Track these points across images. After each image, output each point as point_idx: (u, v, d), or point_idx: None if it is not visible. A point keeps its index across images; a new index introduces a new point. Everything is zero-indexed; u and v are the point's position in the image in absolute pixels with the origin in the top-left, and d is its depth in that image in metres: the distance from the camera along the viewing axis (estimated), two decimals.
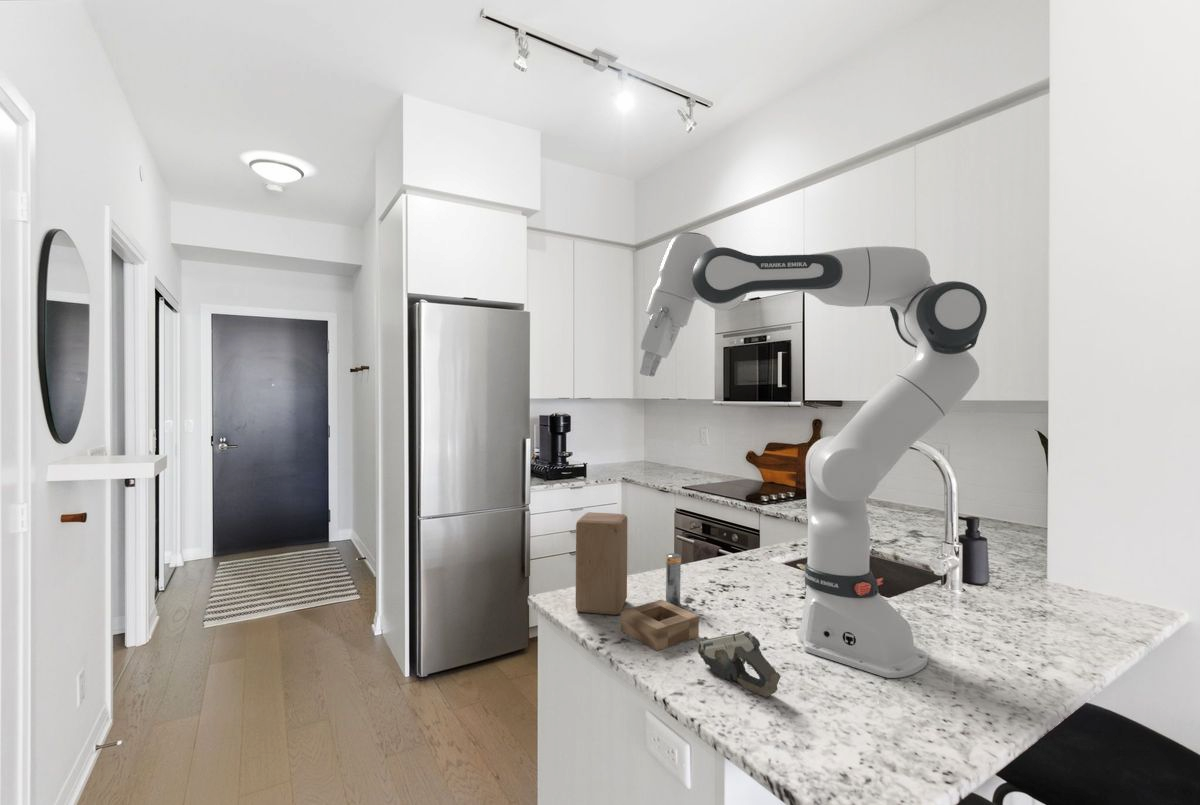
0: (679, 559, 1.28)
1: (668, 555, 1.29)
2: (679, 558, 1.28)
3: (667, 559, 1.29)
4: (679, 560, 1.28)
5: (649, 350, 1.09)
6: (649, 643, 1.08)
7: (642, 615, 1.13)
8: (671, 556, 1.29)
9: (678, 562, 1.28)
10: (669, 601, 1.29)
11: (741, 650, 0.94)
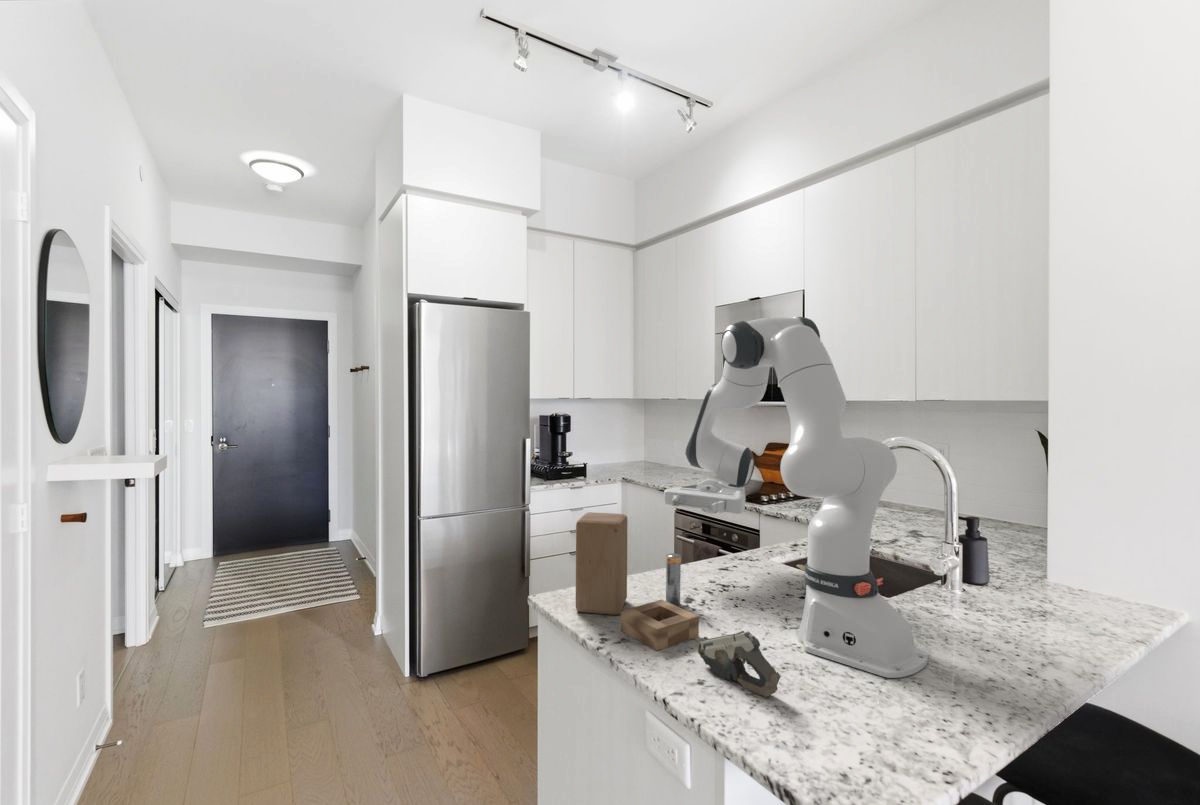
0: (679, 559, 1.28)
1: (668, 555, 1.29)
2: (679, 558, 1.28)
3: (667, 559, 1.29)
4: (679, 560, 1.28)
5: (664, 496, 1.48)
6: (649, 643, 1.08)
7: (642, 615, 1.13)
8: (671, 556, 1.29)
9: (678, 562, 1.28)
10: (669, 601, 1.29)
11: (741, 650, 0.94)
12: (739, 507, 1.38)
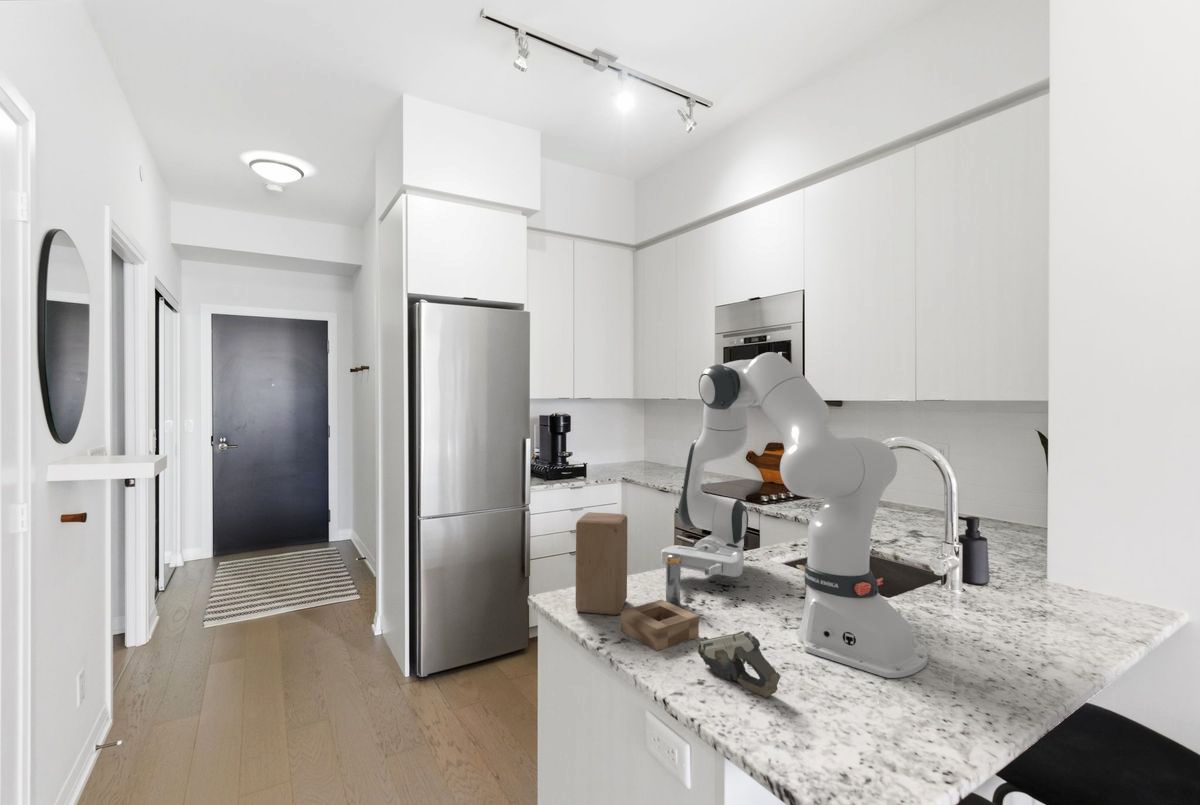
0: (679, 559, 1.28)
1: (668, 555, 1.29)
2: (679, 558, 1.28)
3: (667, 559, 1.29)
4: (679, 560, 1.28)
5: (661, 556, 1.46)
6: (649, 643, 1.08)
7: (642, 615, 1.13)
8: (671, 556, 1.29)
9: (678, 562, 1.28)
10: (669, 601, 1.29)
11: (741, 650, 0.94)
12: (736, 570, 1.36)
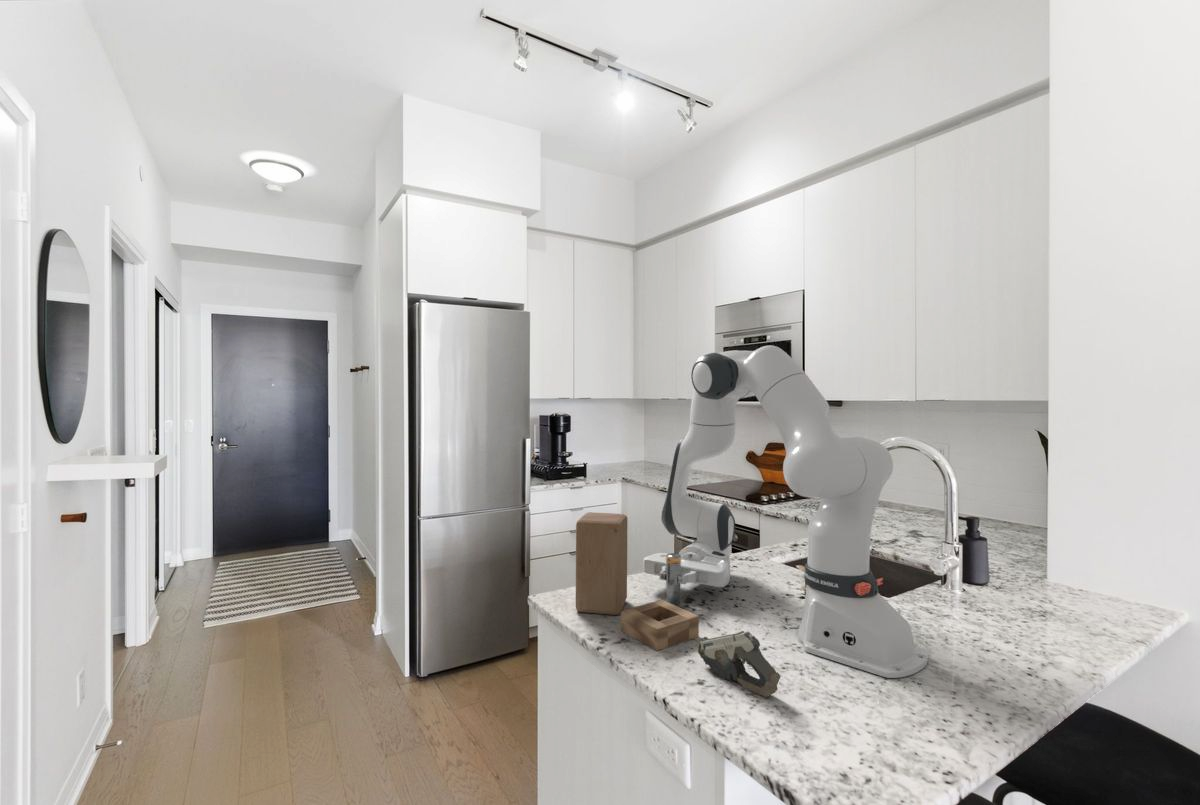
0: (679, 559, 1.28)
1: (668, 555, 1.29)
2: (679, 558, 1.28)
3: (667, 559, 1.29)
4: (679, 560, 1.28)
5: (643, 565, 1.38)
6: (649, 643, 1.08)
7: (642, 615, 1.13)
8: (671, 556, 1.29)
9: (678, 562, 1.28)
10: (668, 601, 1.29)
11: (741, 650, 0.94)
12: (722, 581, 1.28)
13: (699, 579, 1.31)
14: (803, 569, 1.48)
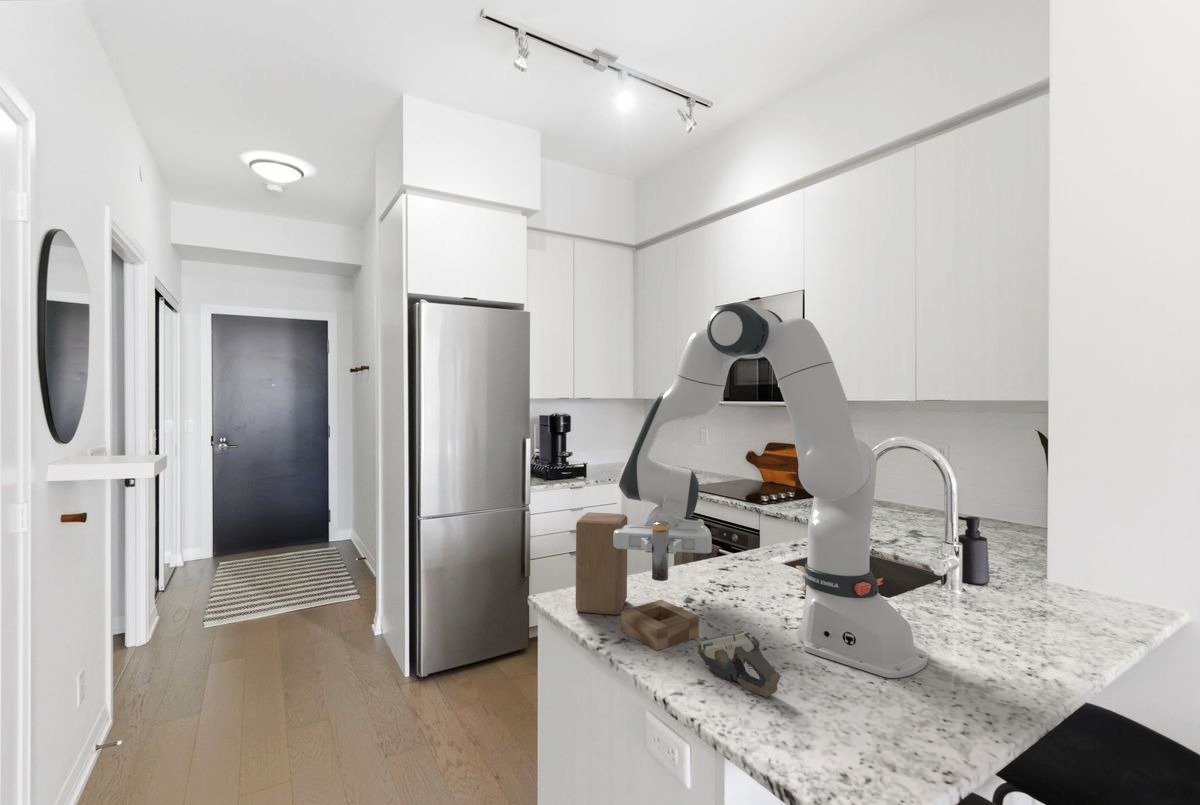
0: (668, 526, 1.13)
1: (655, 523, 1.13)
2: (668, 525, 1.13)
3: (656, 527, 1.12)
4: (668, 527, 1.13)
5: (614, 539, 1.19)
6: (649, 643, 1.08)
7: (642, 615, 1.13)
8: (660, 524, 1.13)
9: (668, 530, 1.13)
10: (658, 575, 1.12)
11: (741, 650, 0.94)
12: (710, 545, 1.16)
13: (683, 547, 1.18)
14: (803, 570, 1.48)
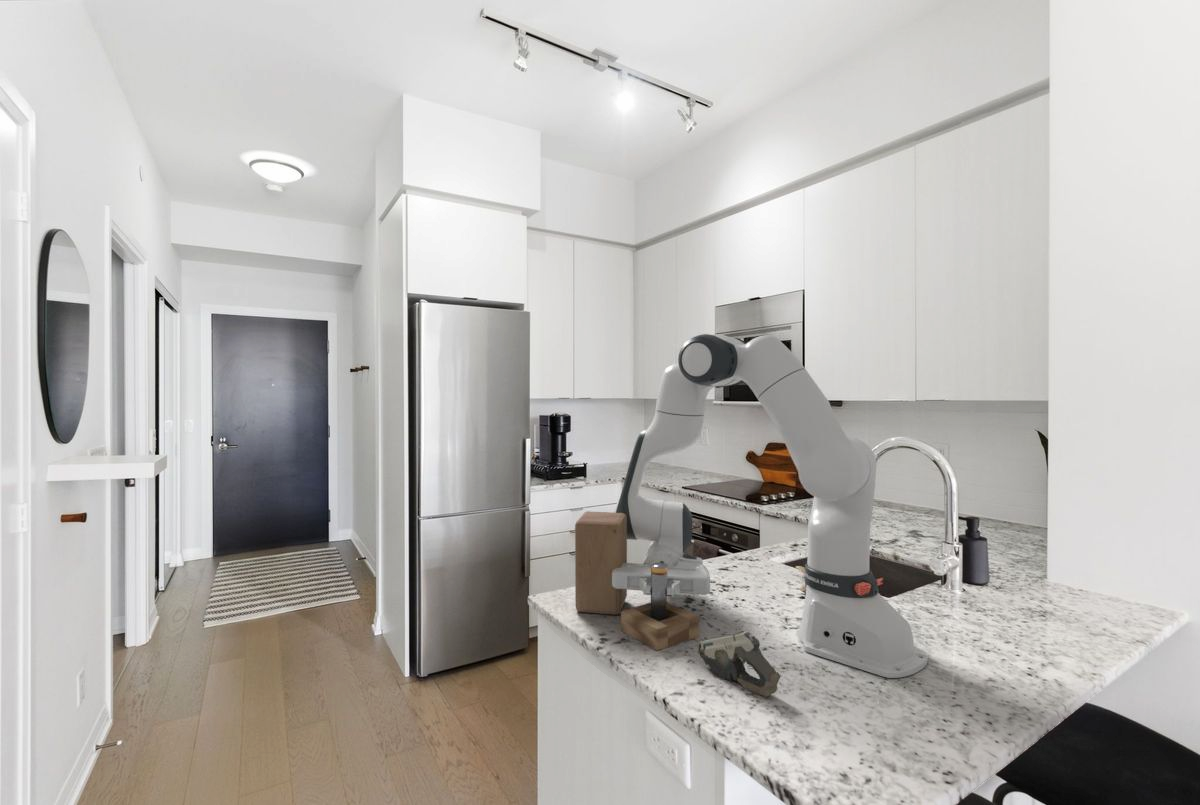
0: (667, 569, 1.13)
1: (654, 565, 1.13)
2: (667, 567, 1.13)
3: (654, 570, 1.13)
4: (667, 570, 1.13)
5: (613, 579, 1.20)
6: (649, 643, 1.08)
7: (642, 615, 1.13)
8: (658, 566, 1.13)
9: (666, 572, 1.13)
10: (656, 617, 1.13)
11: (741, 650, 0.94)
12: (709, 587, 1.17)
13: (681, 588, 1.18)
14: (802, 570, 1.48)
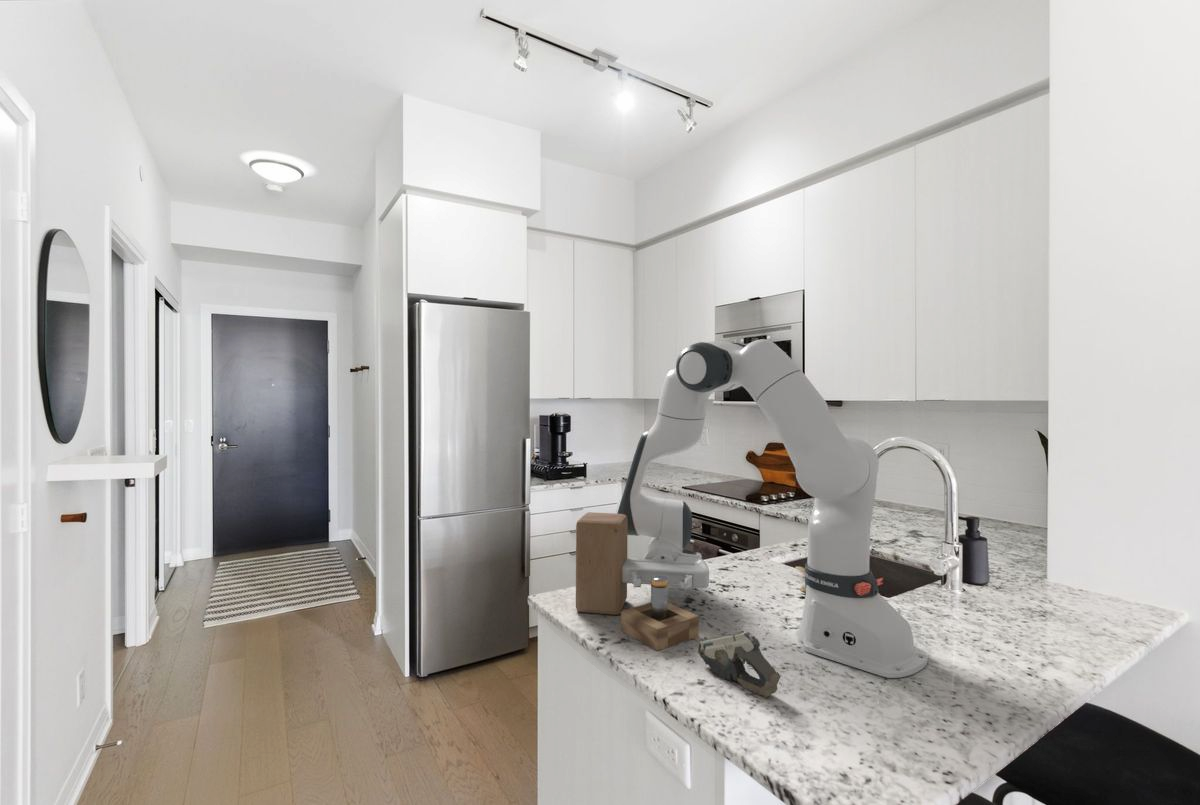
0: (667, 582, 1.13)
1: (654, 578, 1.13)
2: (667, 580, 1.13)
3: (654, 583, 1.13)
4: (667, 583, 1.13)
5: None
6: (649, 643, 1.08)
7: (642, 615, 1.13)
8: (658, 579, 1.13)
9: (667, 585, 1.13)
10: None
11: (741, 650, 0.94)
12: (708, 580, 1.22)
13: None
14: (802, 570, 1.47)
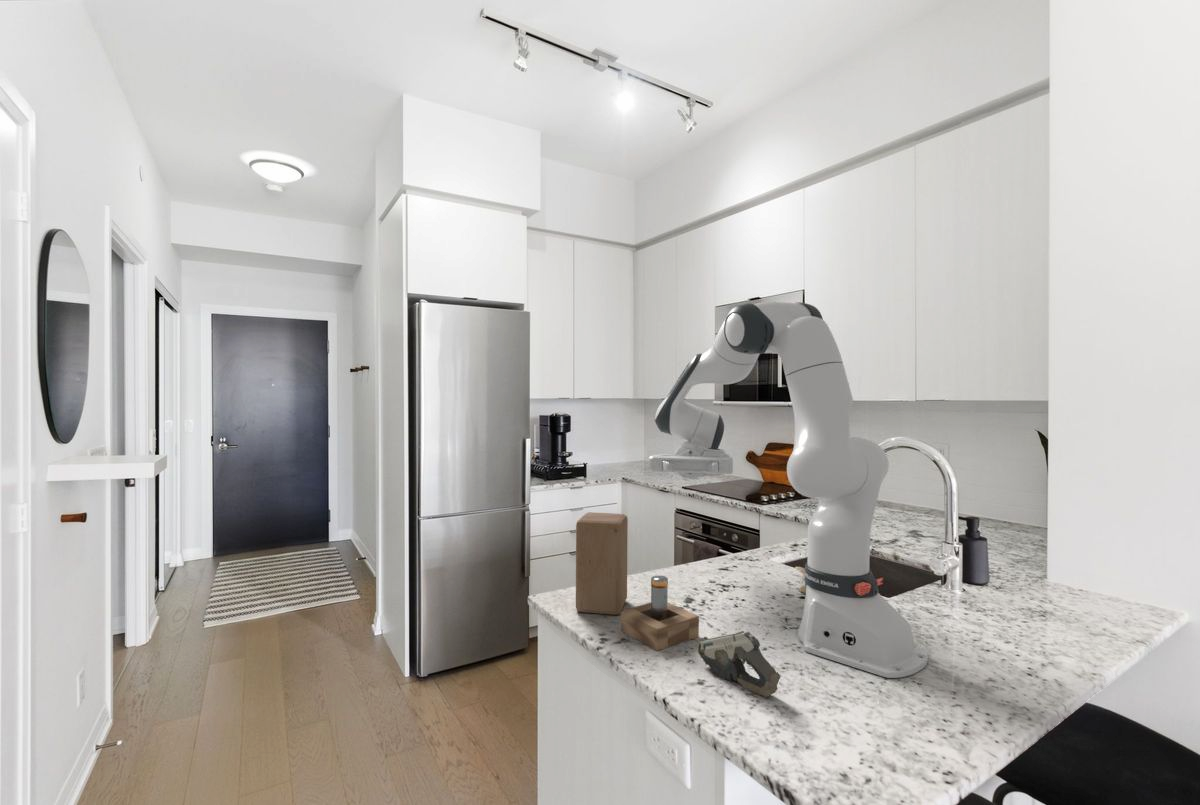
0: (667, 582, 1.13)
1: (654, 579, 1.13)
2: (667, 580, 1.13)
3: (655, 583, 1.13)
4: (667, 583, 1.13)
5: (650, 463, 1.40)
6: (649, 643, 1.08)
7: (642, 615, 1.13)
8: (659, 579, 1.13)
9: (667, 586, 1.13)
10: None
11: (741, 650, 0.94)
12: (732, 467, 1.38)
13: None
14: (802, 571, 1.47)
